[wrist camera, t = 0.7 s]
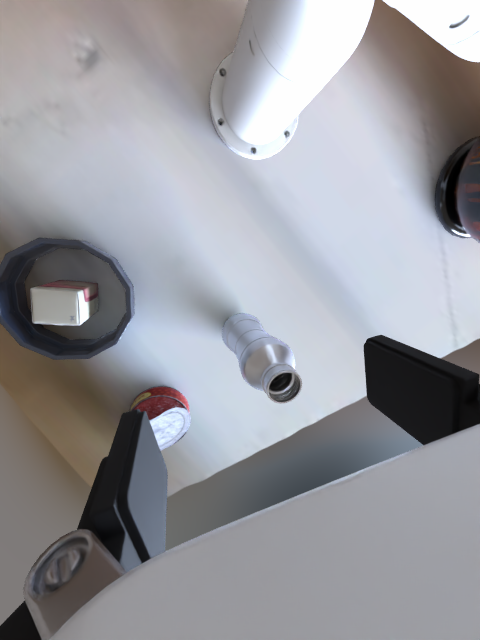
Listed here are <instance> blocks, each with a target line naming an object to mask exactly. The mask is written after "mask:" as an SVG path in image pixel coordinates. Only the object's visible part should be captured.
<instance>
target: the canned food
mask: <svg viewBox="0 0 480 640" xmlns="http://www.w3.org/2000/svg"><path fill="white" fill-rule="evenodd" d="M136 409H140V411H141V412H143V411H146V413H147V415H148V418H149V421H150V424H151V426H152V429H153V432H154V435H155V437H156V440H157V443H158V446H159V448H160V450H162V449H164V448H167V447H169V446H171V445H172V444H174V443H176V442H178V441H179V440H180V439H181V438H182V437H183V436H184V435H185V433H186V432H187V430H188V428H189V425H190V423H191V419H190V413H189V404H188V401H187V399H186V398H185V396H184V395H183V394H182V393H180V392H179V391H177V390H176V389H173V388H170V387H161V386H160V387H153V388H150V389H147V390H146V391H144V392H142V393H141V394H139V395H138V396H137V397H136V398H135V400H134V401H133V403H132V405H131V408H130V411H133V410H136Z"/></svg>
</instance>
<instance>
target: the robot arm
mask: <svg viewBox="0 0 480 640" xmlns="http://www.w3.org/2000/svg"><path fill="white" fill-rule="evenodd" d="M383 1H384V2H385V3H387V4H388V5H389V6H391V7H395V8H396V9H397V10H398V11H400V12H401V13H402V14H403V15H405V16H406V17H407V18H408V19H410V20H411V21H412V22H413V23H415V24H416V25H417V26H418V27H420V28H421V29H422V30H423V31H425V32H426V33H427V34H428V35H430V36H431V37H432V38H433V39H435V40H436V41H437V42H439V43H440V44H441V45H443V46H444V47H445V48H447V49H448V50H449V51H451V52H452V53H454V54H455V55H457V56H459V57H460V58H463V59H465V60H469V61H473V62H480V0H383ZM373 4H374V0H248V4H247V7H246V11H245V14H244V18H243V21H242V25H241V28H240V31H239V35H238V38H237V42H236V45H235V49H234V52H232V53H231V54H229V55H228V56H227V57H226V58H224V60H223V61H222V62H221V63H220V65H219V66H218V68H217V70H216V72H215V74H214V77H213V80H212V84H211V89H210V97H209V106H210V113H211V118H212V121H213V124H214V127H215V129H216V131H217V133H218V135H219V136H220V138H221V139H222V141H223V142H224V143H225V144H226V145H227V146H228V147H229V148H230V149H231V150H232V151H234V152H235V153H237V154H239V155H241V156H243V157H245V158H250V159H263V158H268V157H270V156H272V155H274V154H276V153H277V152H279V151H280V150H281V149H282V148H283V147H284V146H285V145H286V144H287V143H288V142H289V140H290V139H291V137H292V135H293V133H294V131H295V129H296V126H297V122H298V117H299V113H300V112H301V111H302V110H303V108H304V107H305V106H306V105H307V104H308V103H309V102H310V101H311V100H312V99H313V97H314V96H315V95H316V94H317V93H318V92H319V91H320V90H321V89H322V88H323V86H324V85H325V84H326V83H327V82H328V81H329V80H330V79H331V78H332V77H333V75H334V74H335V73H336V72H337V71H338V70H339V69H340V67H341V66H342V65H343V64H344V63H345V62H346V61H347V60H348V58H349V57H350V56H351V54H352V53H353V52H354V50H355V49H356V47H357V45H358V43H359V42H360V40H361V38H362V36H363V34H364V31H365V29H366V26H367V24H368V21H369V18H370V15H371V12H372V8H373ZM221 75H223V76H221ZM218 123H221V126H220V125H219V124H218ZM285 135H286V137H285ZM251 151H253V154H252V153H251ZM364 359H365V373H366V388H367V398H368V400H369V402H370V403H371V404H372V405H373V406H374V407H375V408H377V409H378V410H380V411H381V412H382V413H383V414H384V415H386V416H387V417H388V418H390V419H391V420H392V421H393V422H395V423H396V424H397V425H399V426H400V427H401V428H403V429H404V430H405V431H406V432H407V433H409V434H410V435H411V436H413V437H414V438H415V439H416V440H418V441H419V442H420V443H422V444H423V445H424V446H421V447H418V448H416V449H413V450H411V451H408V452H406V453H403V454H401V455H398V456H396V457H393V458H390V459H388V460H385V461H383V462H380V463H378V464H375V465H373V466H370V467H368V468H365V469H363V470H360V471H358V472H355V473H353V474H350V475H348V476H345V477H343V478H340V479H338V480H335V481H333V482H330V483H328V484H325V485H323V486H320V487H318V488H315V489H313V490H310V491H308V492H305V493H303V494H300V495H298V496H296V497H293V498H291V499H288V500H286V501H283V502H281V503H278V504H276V505H273V506H271V507H268V508H266V509H263V510H261V511H258V512H256V513H254V514H251V515H249V516H246V517H244V518H241V519H239V520H236V521H234V522H232V523H229V524H227V525H224V526H222V527H220V528H217V529H215V530H212V531H210V532H208V533H205V534H203V535H201V536H199V537H196V538H194V539H192V540H189V541H187V542H185V543H183V544H180V545H178V546H176V547H174V548H172V549H170V550H167V551H165V532H166V531H165V529H166V506H167V479H168V475H167V468H166V465H165V462H164V459H163V457H162V454H161V451H160V448H159V446H158V443H157V440H156V437H155V435H154V432H153V429H152V426H151V424H150V421H149V418H148V415H147V413H146V411H143V412H141V411H140V409H136V410H133V411H129V412H126V413H123V414H122V416H121V419H120V422H119V425H118V428H117V431H116V434H115V437H114V440H113V443H112V446H111V449H110V452H109V455H108V457H105V458H104V459H103V460H102V461H101V464H100V466H99V469H98V472H97V475H96V478H95V480H94V483H93V486H92V489H91V492H90V495H89V498H88V500H87V503H86V506H85V508H84V511H83V514H82V517H81V520H80V523H79V525H78V528H77V530H75V531H72V532H70V533H68V534H66V535H64V536H62V537H60V538H59V539H58V540H57V541H55V542H54V543H53V544H51V545H50V546H49V547H48V548H47V549H46V550H45V551H44V553H42V554H41V555H40V557H39V558H38V559H37V561H36V562H35V563H34V565H33V566H32V568H31V570H30V572H29V573H28V575H27V577H26V580H25V584H24V588H23V593H24V599H25V601H24V602H23V603H22V604H21V605H20V606H19V607H18V608H17V609H16V610H15V612H13V613H12V614H11V615H10V617H9V618H7V620H6V621H5V622H4V623H3V624H2V625H1V626H0V640H480V384H479V374H477V373H474V372H472V371H469V370H467V369H465V368H462V367H459V366H457V365H455V364H452V363H450V362H447V361H445V360H442V359H440V358H437V357H435V356H432V355H430V354H427V353H425V352H423V351H420V350H418V349H415V348H413V347H410V346H408V345H405V344H403V343H400V342H398V341H395V340H393V339H390V338H388V337H385V336H383V335H378V336H375V337H372V338H368V339H367V341H366V343H365V344H364Z"/></svg>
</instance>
